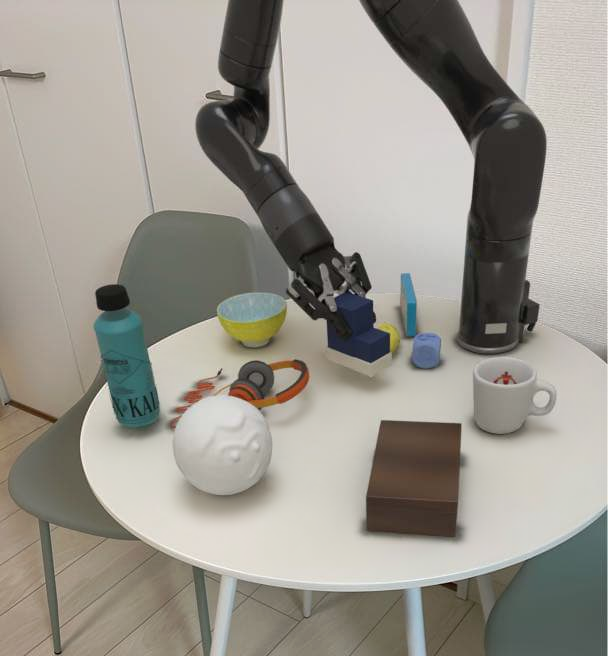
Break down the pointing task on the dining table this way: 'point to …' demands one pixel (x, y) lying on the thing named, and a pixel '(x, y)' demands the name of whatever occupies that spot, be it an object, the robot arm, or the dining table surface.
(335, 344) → the navy blue block
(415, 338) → the decorative dice
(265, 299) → the bowl
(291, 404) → the dining table surface
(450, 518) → the brown platform
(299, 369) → the headphones
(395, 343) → the lemon
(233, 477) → the decorative ball
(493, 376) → the cup
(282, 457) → the dining table surface
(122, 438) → the dining table surface
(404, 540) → the dining table surface
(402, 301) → the blue rectangular panel
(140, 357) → the beverage bottle
